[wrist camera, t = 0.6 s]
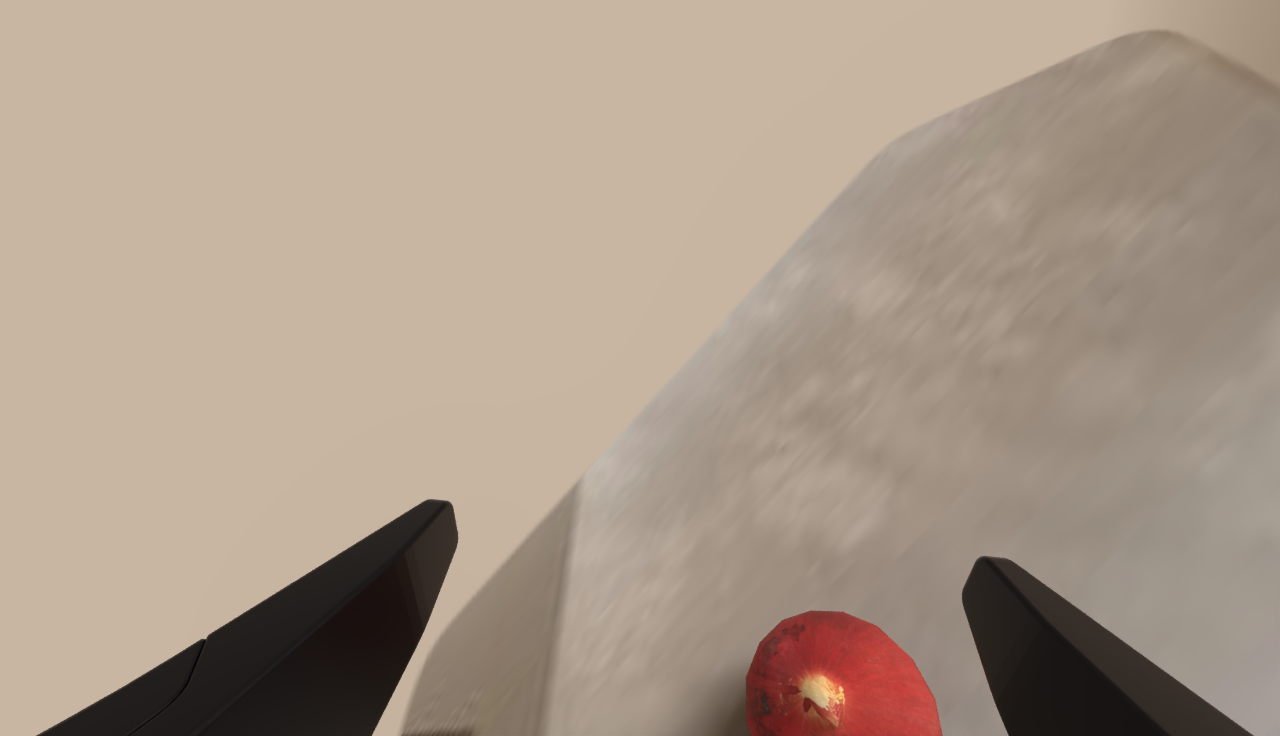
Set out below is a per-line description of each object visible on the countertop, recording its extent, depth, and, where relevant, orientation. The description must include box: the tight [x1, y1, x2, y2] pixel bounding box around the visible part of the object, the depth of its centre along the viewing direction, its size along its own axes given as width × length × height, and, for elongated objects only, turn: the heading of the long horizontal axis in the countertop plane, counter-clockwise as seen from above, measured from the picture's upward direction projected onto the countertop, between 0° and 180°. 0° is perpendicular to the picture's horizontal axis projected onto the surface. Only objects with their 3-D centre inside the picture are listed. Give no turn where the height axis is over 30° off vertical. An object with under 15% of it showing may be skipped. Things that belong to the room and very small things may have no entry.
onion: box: [746, 611, 943, 736], centre depth 16 cm, size 6×6×8 cm
